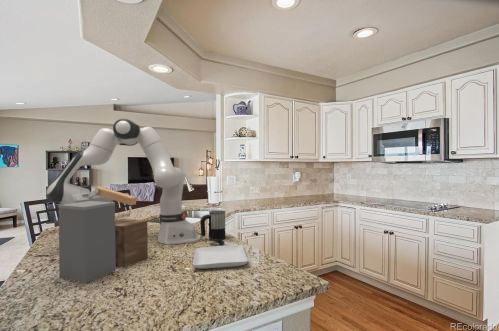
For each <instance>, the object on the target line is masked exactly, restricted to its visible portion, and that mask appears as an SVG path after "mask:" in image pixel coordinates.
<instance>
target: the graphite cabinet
mask: <svg viewBox="0 0 499 331" xmlns="http://www.w3.org/2000/svg"><path fill="white" fill-rule="evenodd" d="M115 220H116V202H115V201H111V202H100V201H86V202H78V203H71V204H63V203H62V204H59V205H58V246H59V247H58V254H59V255H58V263H59V265H58V267H59V269H58V270H59V271H58V273H59V274H58V275H59V278H61V277H62V278H61V279H64V278H67V279H66V280H68V279H71V280H70V281H72V280H75V281H74V282H76V281H79V282H78V283H80V282H83V283H82V284H84V283H86V282H88V283H90V282H92V281H91V280H93V281H95V280H97V279H96V278H98V279H100V278H102V277H104V276H103V275H105V276H107V275H109V274H108V273H110V274H112V273H114V272H116V271H117V268H116V267H117V266H116V249H115ZM115 270H116V271H115ZM113 271H114V272H113ZM111 272H112V273H111ZM106 274H107V275H106ZM101 276H102V277H101ZM99 277H100V278H99ZM94 279H95V280H94ZM89 281H90V282H89ZM86 284H87V283H86Z"/></svg>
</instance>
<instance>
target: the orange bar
mask: <svg viewBox="0 0 499 331" xmlns="http://www.w3.org/2000/svg"><path fill="white" fill-rule="evenodd" d="M97 189H99V190H100V193H99V194H97V195H99V196H102V197H106V198H109V199H112V200H113V201H114V202H115V201H116V202H119V203H121V204H125V205H127V206H134V205H136V204H137V197H138V196H137V197H136V196H134V195H130V194H127V193H123V192H120V191H117V190H112V189H110V188H106V187H104V186H103V187H102V186H98V187H95V188H94V191H95V190H97Z"/></svg>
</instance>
